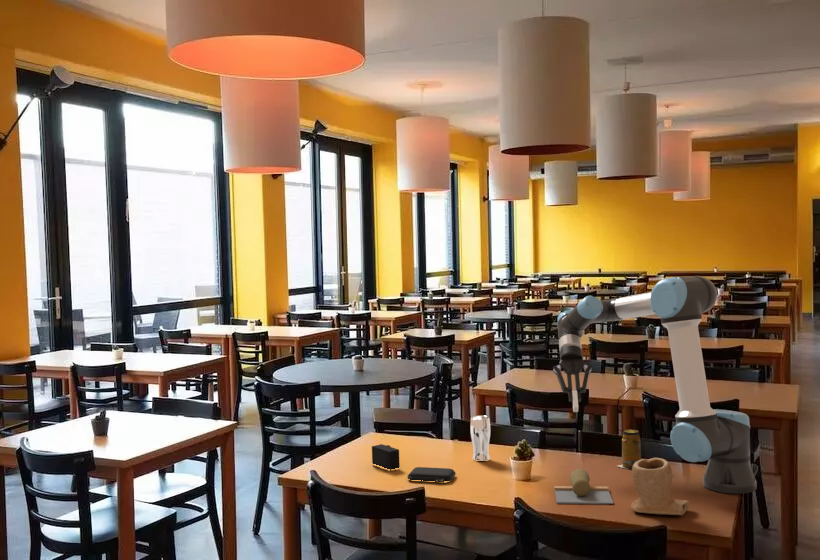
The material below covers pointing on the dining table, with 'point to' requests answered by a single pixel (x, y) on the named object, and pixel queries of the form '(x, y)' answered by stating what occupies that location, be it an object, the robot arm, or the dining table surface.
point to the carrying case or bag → (431, 474)
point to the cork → (580, 482)
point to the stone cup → (655, 488)
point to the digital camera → (385, 456)
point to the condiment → (630, 448)
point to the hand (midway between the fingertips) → (575, 409)
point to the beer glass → (480, 437)
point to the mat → (593, 497)
